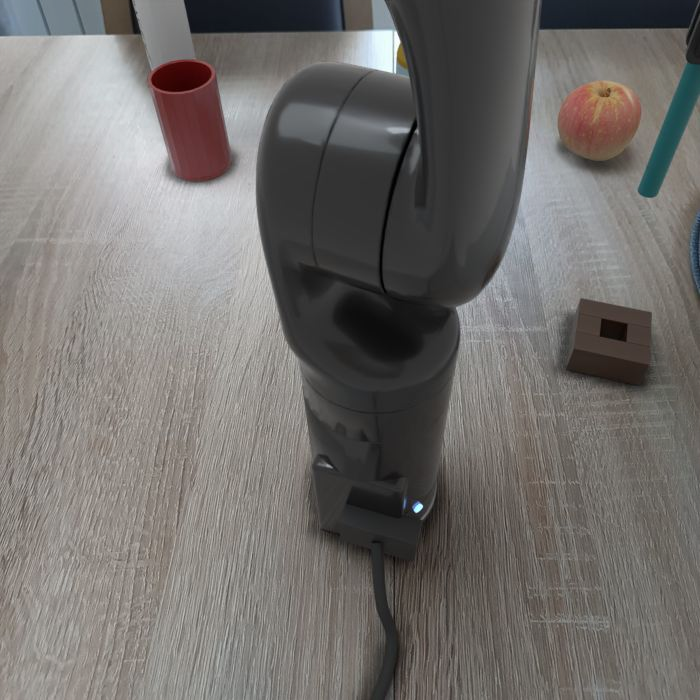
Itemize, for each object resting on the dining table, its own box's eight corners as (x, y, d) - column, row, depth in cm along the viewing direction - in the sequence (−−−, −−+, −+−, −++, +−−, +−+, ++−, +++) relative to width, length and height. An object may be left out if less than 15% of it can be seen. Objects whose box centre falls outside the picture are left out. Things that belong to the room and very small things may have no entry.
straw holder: (638, 385, 57) (650, 364, 54) (565, 369, 58) (573, 348, 56) (641, 333, 60) (652, 311, 58) (572, 319, 62) (580, 297, 59)
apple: (611, 182, 75) (633, 118, 68) (539, 156, 78) (553, 94, 72) (638, 144, 79) (661, 82, 73) (568, 122, 82) (585, 60, 76)
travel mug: (205, 67, 93) (172, -95, 78) (193, 92, 89) (156, -75, 73) (162, 66, 94) (121, -96, 78) (148, 90, 90) (102, -76, 74)
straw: (657, 199, 46) (754, -31, 34) (636, 196, 46) (726, -34, 35) (658, 187, 47) (753, -41, 35) (637, 184, 47) (725, -44, 36)
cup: (216, 186, 76) (196, 98, 67) (161, 175, 77) (135, 88, 69) (241, 151, 80) (226, 64, 72) (188, 141, 82) (167, 55, 73)
